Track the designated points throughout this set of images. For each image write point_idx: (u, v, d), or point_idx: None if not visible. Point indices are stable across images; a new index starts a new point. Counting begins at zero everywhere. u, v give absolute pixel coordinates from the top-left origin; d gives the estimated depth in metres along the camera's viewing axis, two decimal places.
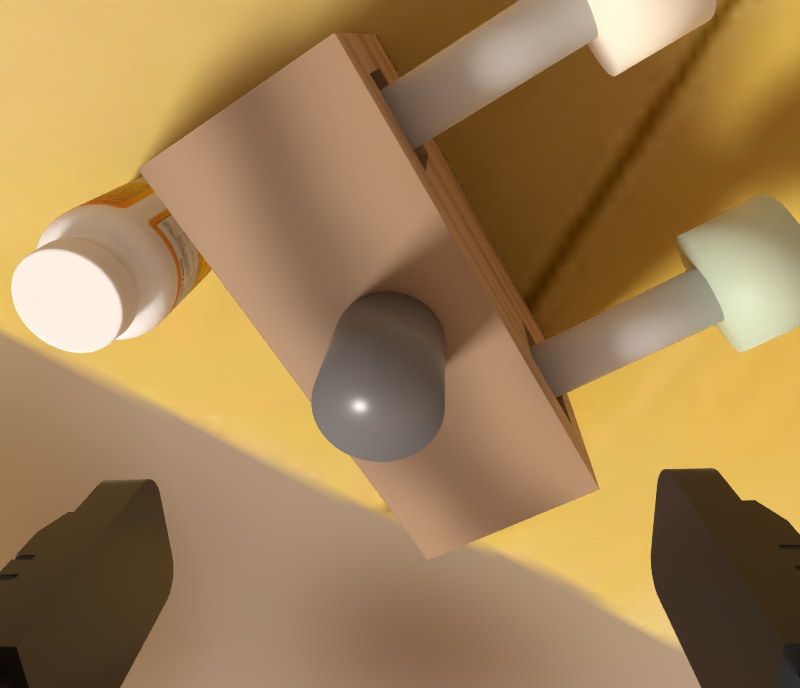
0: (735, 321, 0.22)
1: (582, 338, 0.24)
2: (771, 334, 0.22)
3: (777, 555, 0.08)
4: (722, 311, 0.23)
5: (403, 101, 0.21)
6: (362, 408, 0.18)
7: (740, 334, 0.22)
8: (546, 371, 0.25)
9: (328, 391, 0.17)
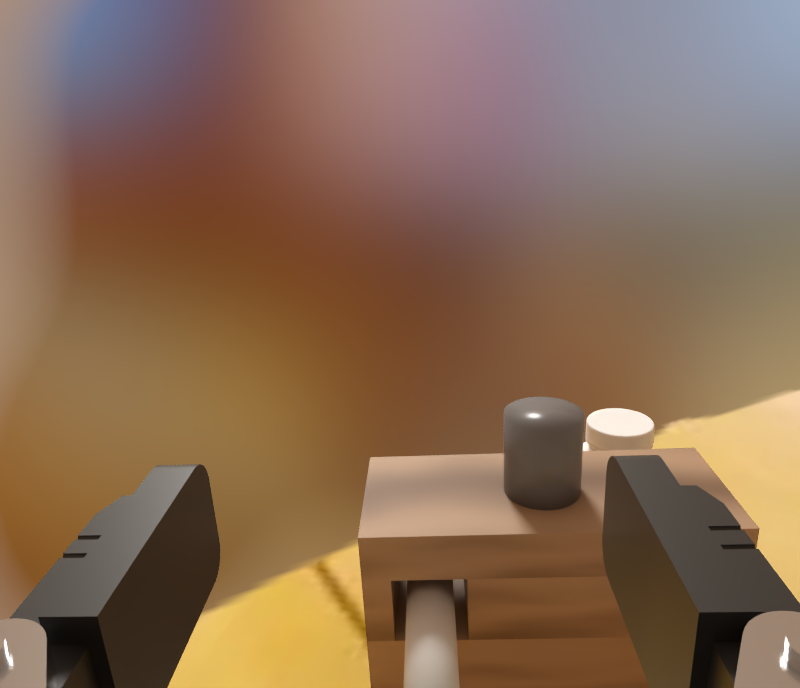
0: None
1: (451, 629, 0.28)
2: None
3: (704, 533, 0.08)
4: None
5: None
6: (544, 409, 0.30)
7: None
8: (440, 594, 0.29)
9: (562, 403, 0.31)
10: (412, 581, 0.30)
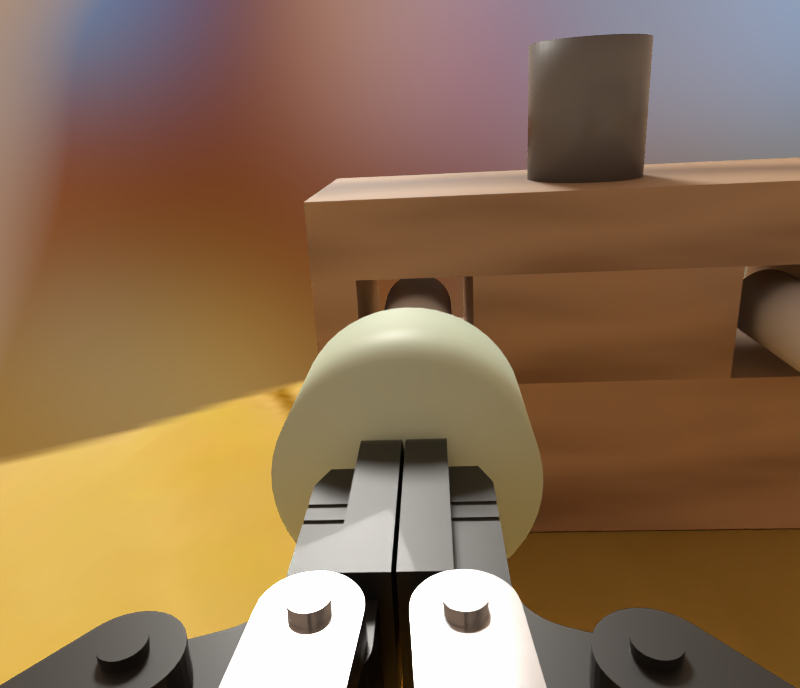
0: None
1: None
2: (334, 345, 0.13)
3: (444, 506, 0.09)
4: None
5: None
6: None
7: None
8: (431, 292, 0.20)
9: None
10: (392, 291, 0.21)
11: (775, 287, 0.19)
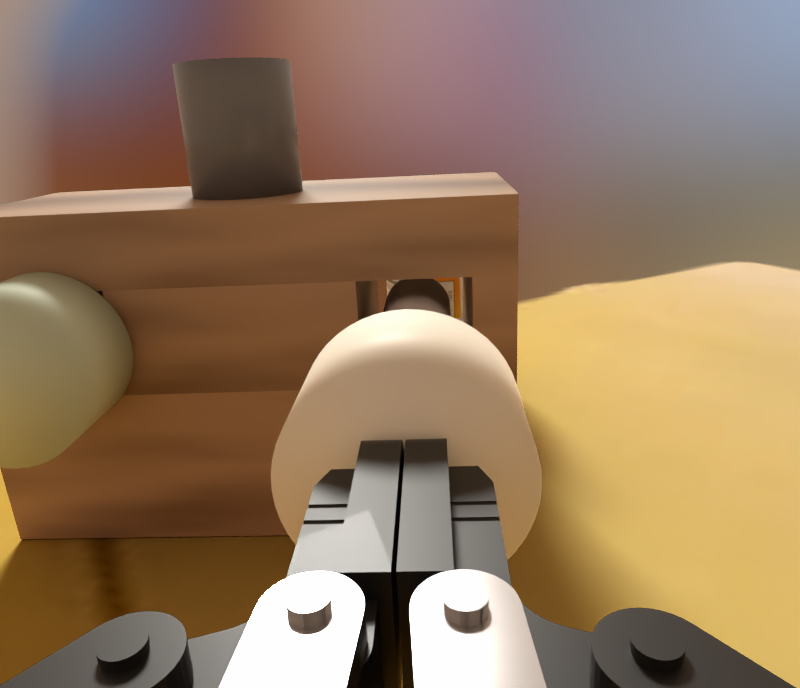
0: None
1: None
2: None
3: (444, 506, 0.09)
4: None
5: (429, 296, 0.20)
6: None
7: None
8: None
9: None
10: None
11: (398, 292, 0.21)
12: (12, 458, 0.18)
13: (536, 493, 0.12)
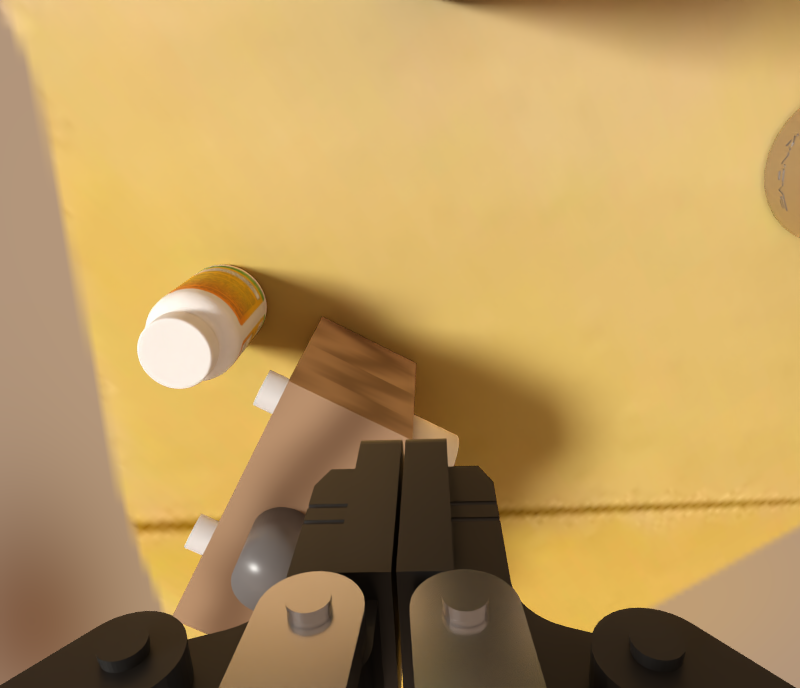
0: None
1: None
2: None
3: (444, 506, 0.09)
4: None
5: None
6: (261, 579, 0.32)
7: None
8: None
9: (258, 562, 0.32)
10: (198, 553, 0.40)
11: None
12: None
13: (458, 440, 0.38)
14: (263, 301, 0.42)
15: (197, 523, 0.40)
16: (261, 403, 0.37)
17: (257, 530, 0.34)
